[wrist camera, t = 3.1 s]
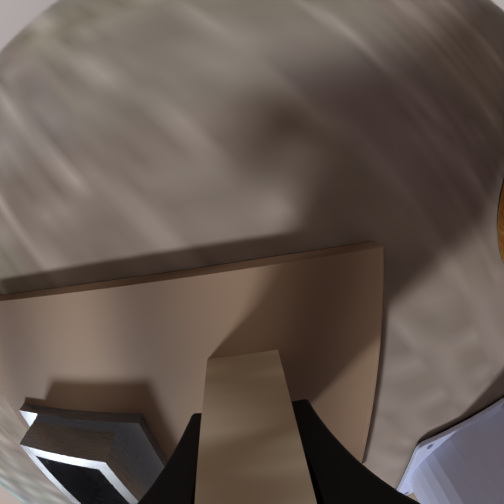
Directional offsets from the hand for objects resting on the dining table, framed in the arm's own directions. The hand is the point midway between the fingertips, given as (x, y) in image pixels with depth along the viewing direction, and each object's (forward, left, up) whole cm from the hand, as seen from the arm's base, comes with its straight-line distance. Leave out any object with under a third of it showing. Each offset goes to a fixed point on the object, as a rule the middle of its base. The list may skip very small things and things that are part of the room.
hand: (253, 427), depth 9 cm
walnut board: (+4, +2, -2) cm, 5 cm away
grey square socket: (+8, +4, -2) cm, 9 cm away
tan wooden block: (0, 0, -2) cm, 2 cm away
